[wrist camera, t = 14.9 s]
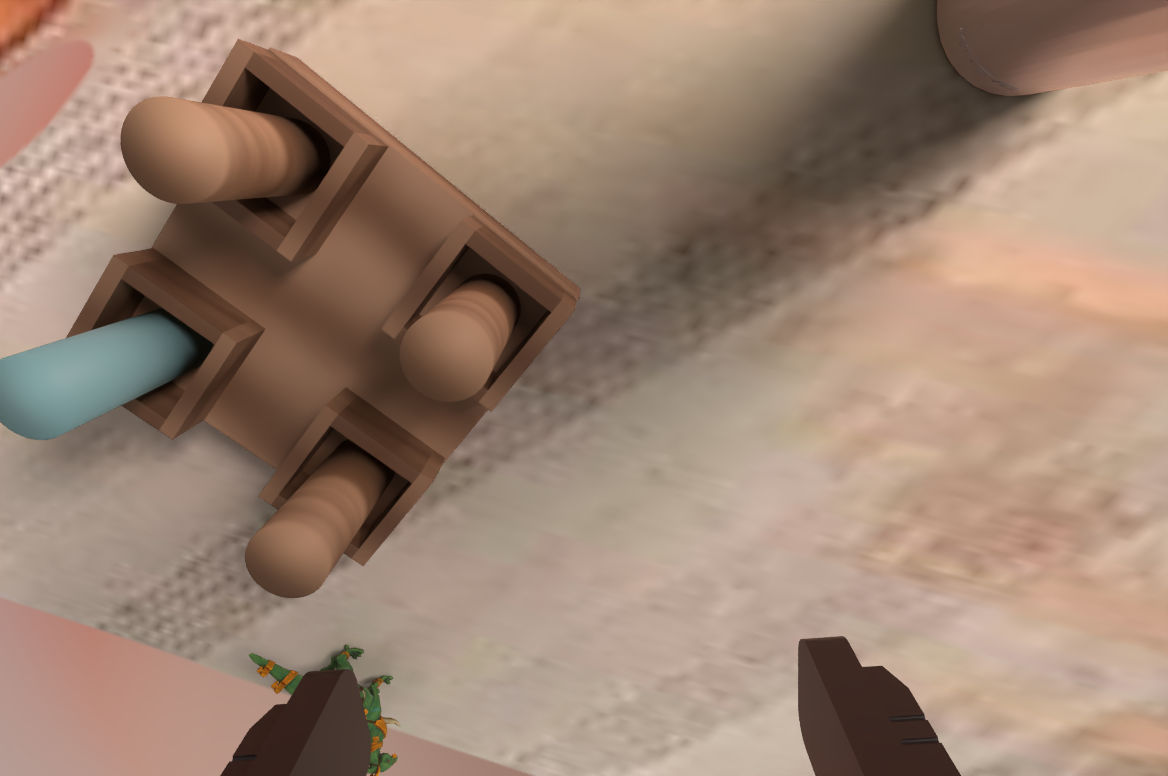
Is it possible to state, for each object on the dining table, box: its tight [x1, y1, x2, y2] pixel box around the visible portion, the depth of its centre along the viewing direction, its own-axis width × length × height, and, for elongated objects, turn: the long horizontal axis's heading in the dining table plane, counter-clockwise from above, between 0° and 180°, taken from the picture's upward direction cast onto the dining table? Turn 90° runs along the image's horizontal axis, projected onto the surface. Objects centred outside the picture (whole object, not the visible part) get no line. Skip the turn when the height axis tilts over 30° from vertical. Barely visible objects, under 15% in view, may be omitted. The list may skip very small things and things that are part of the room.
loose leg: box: [0, 308, 212, 440], centre depth 31 cm, size 4×4×10 cm
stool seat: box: [66, 39, 580, 598], centre depth 32 cm, size 19×19×13 cm
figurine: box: [249, 645, 400, 776], centre depth 42 cm, size 3×12×8 cm, turn 43°
